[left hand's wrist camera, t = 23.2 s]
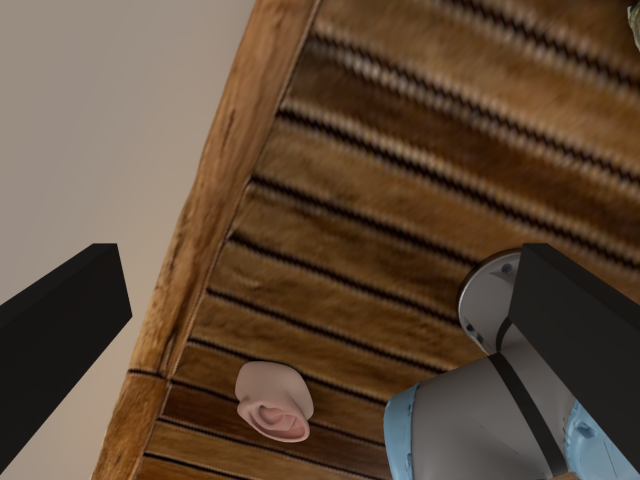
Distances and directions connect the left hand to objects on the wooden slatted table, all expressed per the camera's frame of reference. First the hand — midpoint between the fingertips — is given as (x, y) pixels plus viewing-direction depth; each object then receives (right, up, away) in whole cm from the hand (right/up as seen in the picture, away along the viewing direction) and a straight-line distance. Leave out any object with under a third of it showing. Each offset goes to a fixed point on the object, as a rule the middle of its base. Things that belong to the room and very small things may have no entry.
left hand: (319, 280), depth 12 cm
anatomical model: (-7, -22, +46) cm, 51 cm away
